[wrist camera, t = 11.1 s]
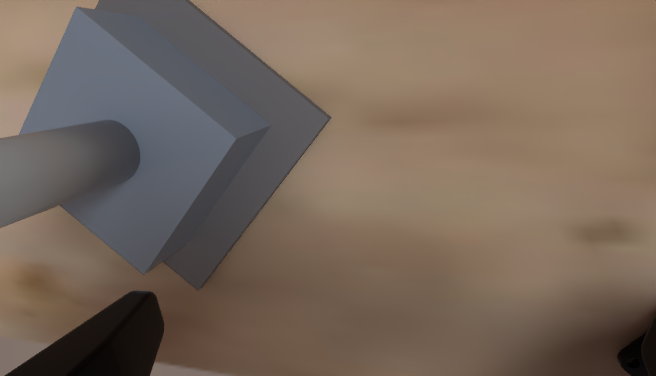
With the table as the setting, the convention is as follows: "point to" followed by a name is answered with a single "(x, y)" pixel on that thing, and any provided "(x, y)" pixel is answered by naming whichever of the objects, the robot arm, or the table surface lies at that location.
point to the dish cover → (126, 139)
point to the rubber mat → (256, 92)
